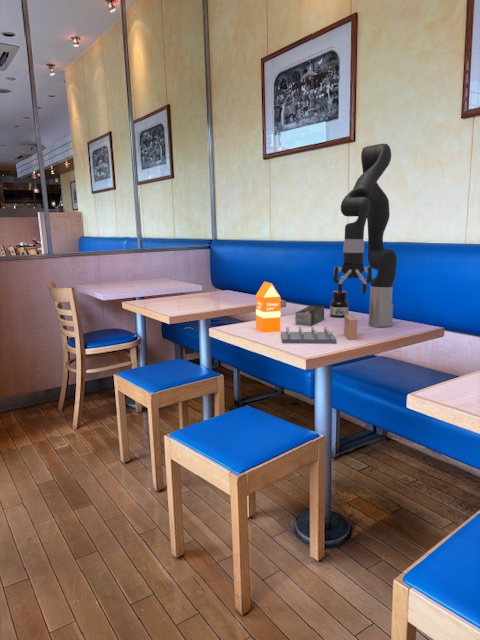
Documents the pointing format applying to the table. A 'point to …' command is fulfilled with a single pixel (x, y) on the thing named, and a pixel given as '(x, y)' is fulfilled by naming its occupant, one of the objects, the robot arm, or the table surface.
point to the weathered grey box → (309, 315)
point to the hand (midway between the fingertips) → (351, 293)
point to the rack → (308, 336)
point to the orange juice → (268, 309)
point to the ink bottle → (339, 304)
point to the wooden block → (350, 327)
